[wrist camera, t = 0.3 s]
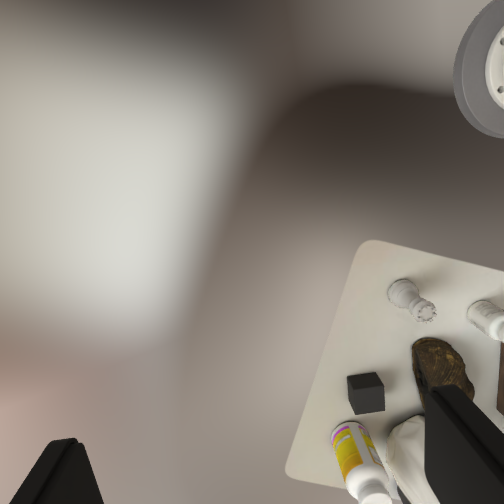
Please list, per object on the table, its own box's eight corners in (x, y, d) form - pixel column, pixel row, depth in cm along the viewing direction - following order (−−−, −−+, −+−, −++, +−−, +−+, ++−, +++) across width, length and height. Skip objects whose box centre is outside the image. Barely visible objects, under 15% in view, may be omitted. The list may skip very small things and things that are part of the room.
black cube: (346, 376, 58) (353, 390, 55) (375, 372, 58) (384, 385, 55) (348, 400, 60) (355, 415, 56) (377, 396, 60) (385, 410, 56)
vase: (466, 410, 61) (538, 491, 46) (442, 471, 65) (501, 564, 50) (391, 402, 60) (440, 483, 45) (371, 465, 64) (411, 558, 49)
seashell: (396, 348, 56) (428, 369, 50) (441, 324, 58) (477, 342, 51) (419, 424, 61) (451, 453, 54) (460, 400, 62) (496, 426, 55)
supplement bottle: (327, 448, 62) (349, 521, 50) (333, 418, 61) (358, 486, 48) (362, 450, 63) (393, 523, 50) (370, 421, 61) (403, 489, 49)
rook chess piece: (394, 275, 53) (420, 295, 46) (419, 283, 54) (449, 305, 46) (382, 300, 54) (405, 324, 47) (406, 308, 55) (434, 333, 47)
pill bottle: (487, 325, 56) (525, 352, 49) (462, 322, 56) (496, 348, 49) (496, 301, 55) (536, 324, 48) (471, 298, 55) (507, 321, 47)
